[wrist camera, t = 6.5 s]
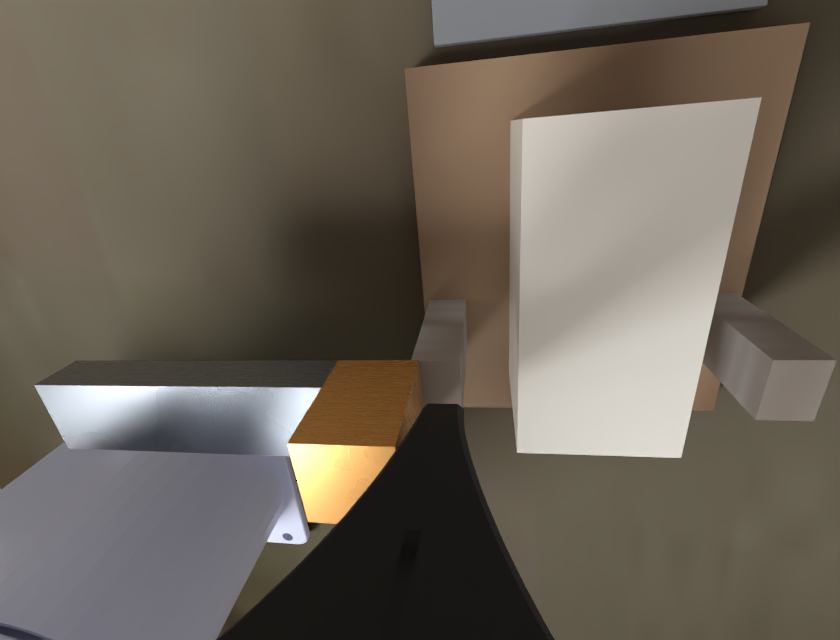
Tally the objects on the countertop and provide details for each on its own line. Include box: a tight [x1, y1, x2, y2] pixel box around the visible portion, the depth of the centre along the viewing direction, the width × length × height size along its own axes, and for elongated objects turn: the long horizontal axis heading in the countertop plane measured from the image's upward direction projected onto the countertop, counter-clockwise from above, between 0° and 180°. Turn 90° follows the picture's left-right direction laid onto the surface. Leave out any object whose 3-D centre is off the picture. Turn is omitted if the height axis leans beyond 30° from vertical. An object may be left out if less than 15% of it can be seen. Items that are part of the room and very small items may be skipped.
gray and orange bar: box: [34, 360, 423, 524], centre depth 10 cm, size 10×2×3 cm, turn 95°
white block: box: [509, 97, 762, 458], centre depth 11 cm, size 4×8×4 cm, turn 5°
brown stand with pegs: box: [404, 22, 837, 421], centre depth 11 cm, size 10×11×5 cm
